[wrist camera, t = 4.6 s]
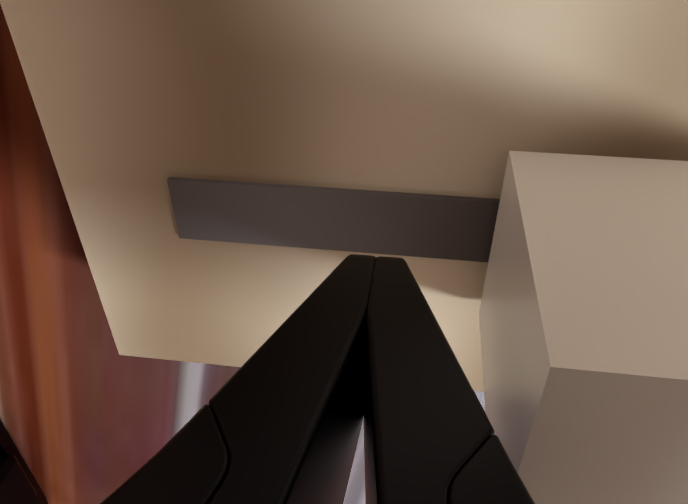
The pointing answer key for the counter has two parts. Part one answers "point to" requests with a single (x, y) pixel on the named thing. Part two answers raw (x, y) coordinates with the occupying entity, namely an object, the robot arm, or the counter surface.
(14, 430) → the counter surface
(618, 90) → the switch board
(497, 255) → the switch
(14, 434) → the counter surface
